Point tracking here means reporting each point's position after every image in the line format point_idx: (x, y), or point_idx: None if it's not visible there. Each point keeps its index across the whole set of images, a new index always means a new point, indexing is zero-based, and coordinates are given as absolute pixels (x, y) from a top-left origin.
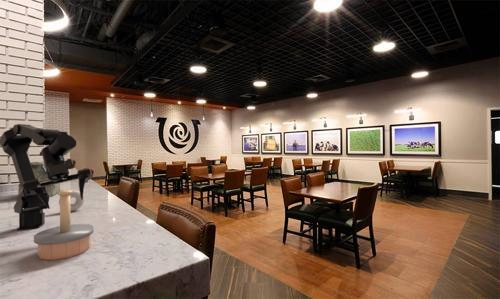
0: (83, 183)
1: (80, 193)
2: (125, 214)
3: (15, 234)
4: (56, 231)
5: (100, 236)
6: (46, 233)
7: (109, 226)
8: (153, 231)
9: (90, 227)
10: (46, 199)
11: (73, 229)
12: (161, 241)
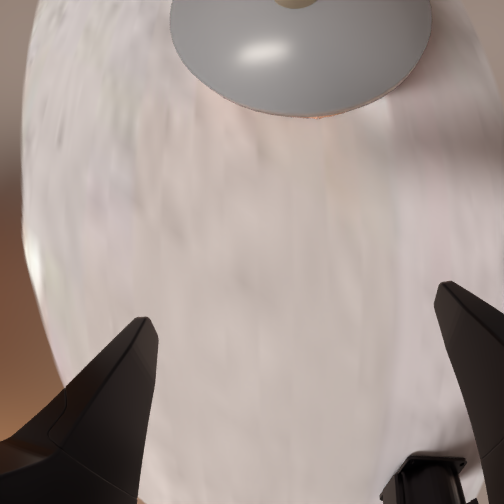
0: (20, 439)
1: (120, 357)
2: None
3: None
4: (340, 8)
5: (176, 159)
6: (382, 2)
7: (143, 303)
8: (38, 132)
9: (182, 10)
10: (496, 332)
11: (258, 5)
12: (53, 33)
